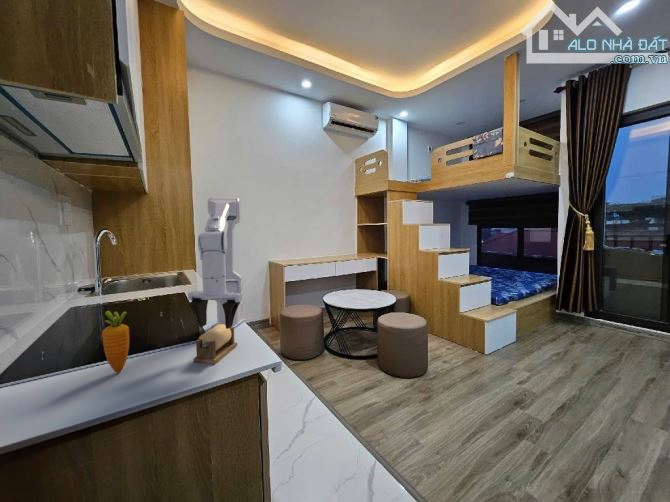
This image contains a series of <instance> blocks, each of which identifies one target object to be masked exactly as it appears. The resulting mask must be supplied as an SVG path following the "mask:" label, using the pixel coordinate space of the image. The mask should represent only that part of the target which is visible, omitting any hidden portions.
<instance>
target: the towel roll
mask: <svg viewBox="0 0 670 502" xmlns="http://www.w3.org/2000/svg"><path fill="white" fill-rule="evenodd" d="M198 339H200V340H202V347H203V348H206V347H209V342H210V341H211V340H215V349H216V350H218V349H219V348H220V347H222V346H223V345H224V344H225V343H227V342H228V341H229V340H230V339H231V330H230V328H229V329H226V326H225V325H224V324H219V325H217V326H215V327H211V329H209V330H207V331H205V332H204V333H202V334H201V335H200V336H199V337H198Z"/></svg>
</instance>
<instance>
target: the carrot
mask: <svg viewBox="0 0 670 502" xmlns="http://www.w3.org/2000/svg"><path fill="white" fill-rule="evenodd" d="M127 314H128V312H126V311H123V312H122V313H121V315H120V314H119V313H118V311H114V312H113V314H112V312H111V311H110V310H107V311H105V313H104V315H105V316H106V317H107V318H108V319H106V320H105V321H104V322H105V323H106V324H109V325H108V326H107V327H105V328H104V329H103V330H102V333H101V337H102V338H101V339H102V346H103V351H104V354H105V358H106V361H107V363H108V364H109V366H110V368H111V369H112V370H113V371H114V372H115V373H117V374H119V373H121V372H122V370H123V369H124V367H125V364H126V362H127V359H128V356H129V350H130V327H129V326H128V324H127V325H126V324H124V323H122V322H123V320H124V318H125V316H126V315H127Z"/></svg>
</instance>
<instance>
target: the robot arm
mask: <svg viewBox="0 0 670 502" xmlns="http://www.w3.org/2000/svg"><path fill="white" fill-rule="evenodd" d="M207 212H208V215H209V218H208V220H207V221H206V225H205V228H204V230H203V231H202V233H199V234H198V237H197V246H198V252H199V259H200V261H201V270H202V271H201V279H202V291H201V290H199V291H197V290H196V291H195V290H192V291H189V292H187V300H188V301H190V302H189V303H188V306H189V307H190V309H191V310H192V312H193V313H194V315H195V317H196V321H197V323H198V325H199V328H203V327H205V326H206V325H207V324H208V323H207V322H208V321H207V320H208V318H207V317H208V315H207V312H208V304H209V301H215V302H216V319H217V321H216V323H214V324H213V325H212V326H211V328H214V327H215V326H217V325H219V324H224V325H225V326H226V329H229V328H231V327H232V328H234V329H235V328H236V327H237V326H239V325H240V324H242V323H244V322H245V321H246V320H247V319H246V318H244V302H243V295H244V294H243V292H244V289H243V287H244V286H243V278H242V275H241V274H239V273H238V272H236V271H235V270H234V265H235V263H234V260H235V259H234V230H235V227H236V225H237V224H239V223H240V220H241V200H240V198H239V197H212V196H210V197H209V198H208V199H207ZM241 319H242V320H243V321H242V320H241Z"/></svg>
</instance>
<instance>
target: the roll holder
mask: <svg viewBox="0 0 670 502" xmlns="http://www.w3.org/2000/svg"><path fill="white" fill-rule="evenodd" d="M230 330H231V339H230V340H229V341H228V342H227V343H225V344H224V345H223V346H222V347H220V348H219V349H218V350H216V349H215V340H211V341H210V342H209V347H206V348H203V347H202V340H200V339H199V338H198V339H197V340H196V341H195V347H196V356H195V357H193V363H199V364H209V365H210V364H212V365H216V364H218V363H219V362H220V361H221V360H222V359H224V358H225V357H226V356H227V355H228V354H230V353H231V352H232V351H233V350H234V349H236V348H237V347H236V346H238V342H235V328H232V327H231V328H230ZM230 351H231V352H230Z"/></svg>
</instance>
